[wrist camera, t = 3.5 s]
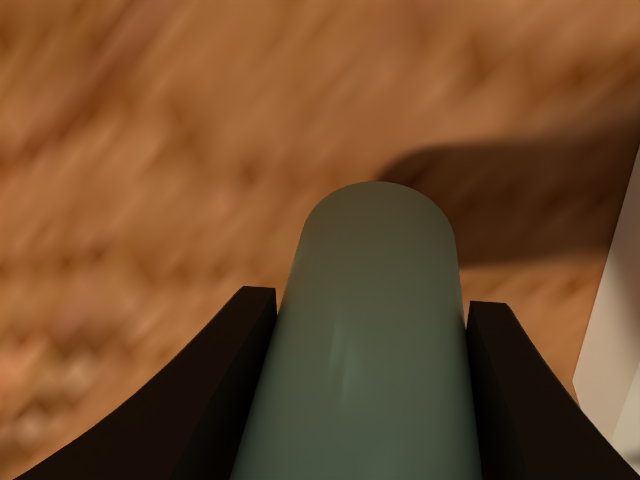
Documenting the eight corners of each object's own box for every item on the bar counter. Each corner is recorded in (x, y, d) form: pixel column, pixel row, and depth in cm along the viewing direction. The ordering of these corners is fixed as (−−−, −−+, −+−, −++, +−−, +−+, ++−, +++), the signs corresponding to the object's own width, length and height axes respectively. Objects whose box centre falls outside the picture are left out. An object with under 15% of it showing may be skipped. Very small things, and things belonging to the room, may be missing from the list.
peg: (448, 316, 14) (487, 816, 7) (303, 306, 15) (190, 769, 7) (464, 185, 13) (542, 673, 5) (298, 177, 13) (140, 620, 5)
